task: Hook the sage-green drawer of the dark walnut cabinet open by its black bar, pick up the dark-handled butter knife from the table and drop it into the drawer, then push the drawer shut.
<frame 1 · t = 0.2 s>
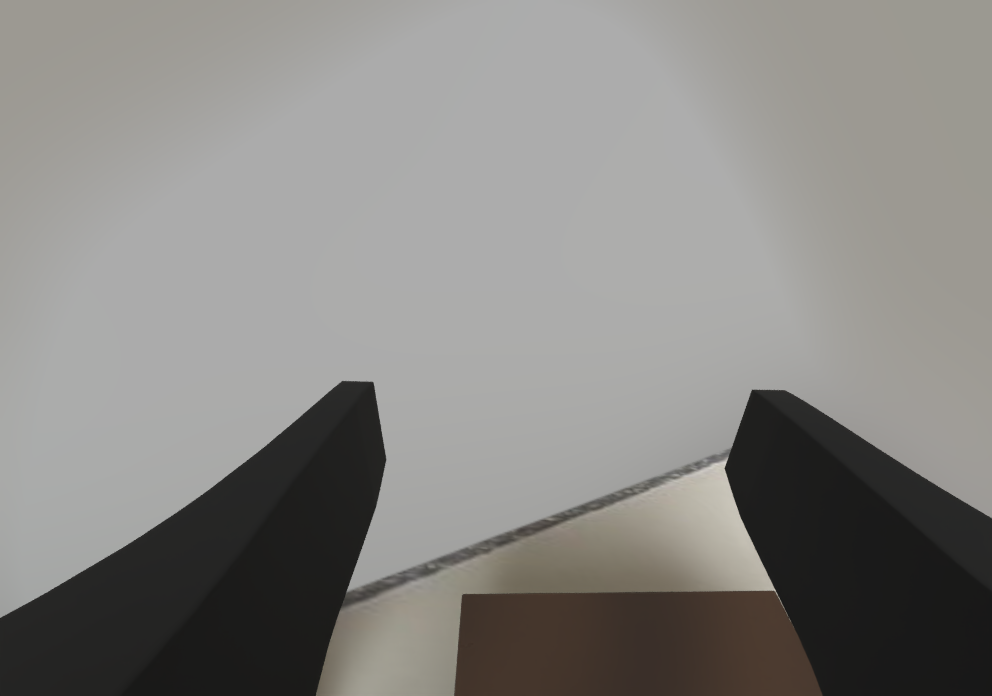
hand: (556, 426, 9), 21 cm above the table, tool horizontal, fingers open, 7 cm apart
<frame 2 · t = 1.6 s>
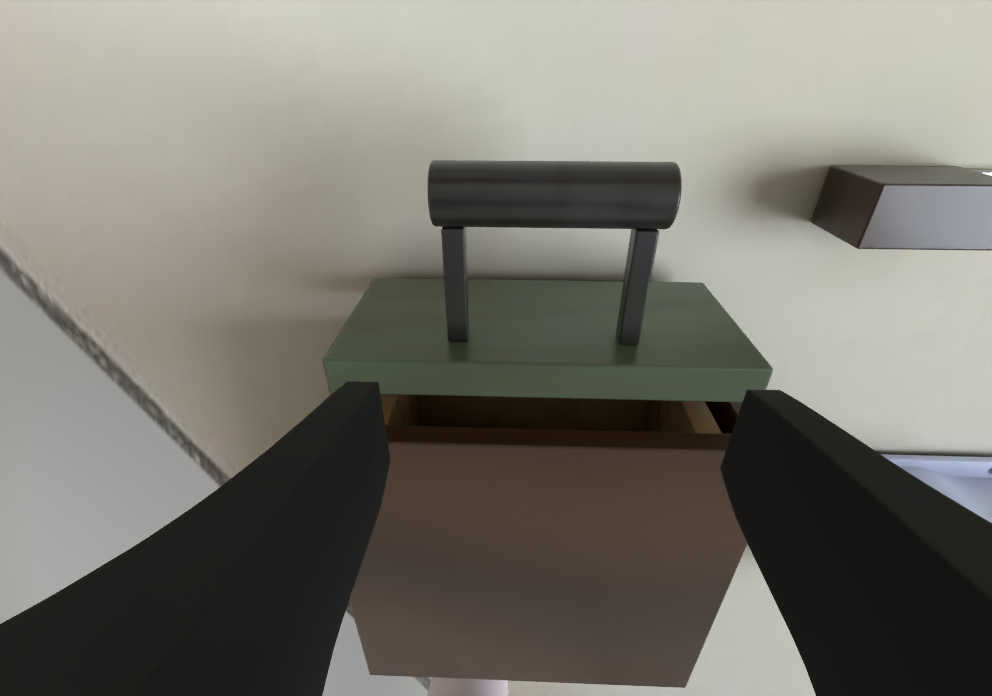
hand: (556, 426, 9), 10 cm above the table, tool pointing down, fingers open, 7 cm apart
drawer: (535, 405, 18), point 4 cm above the table, slide at 1.0 cm
knife: (880, 195, 17), on the table
cabinet: (527, 441, 24), on the table
smoothie: (474, 617, 32), on the table
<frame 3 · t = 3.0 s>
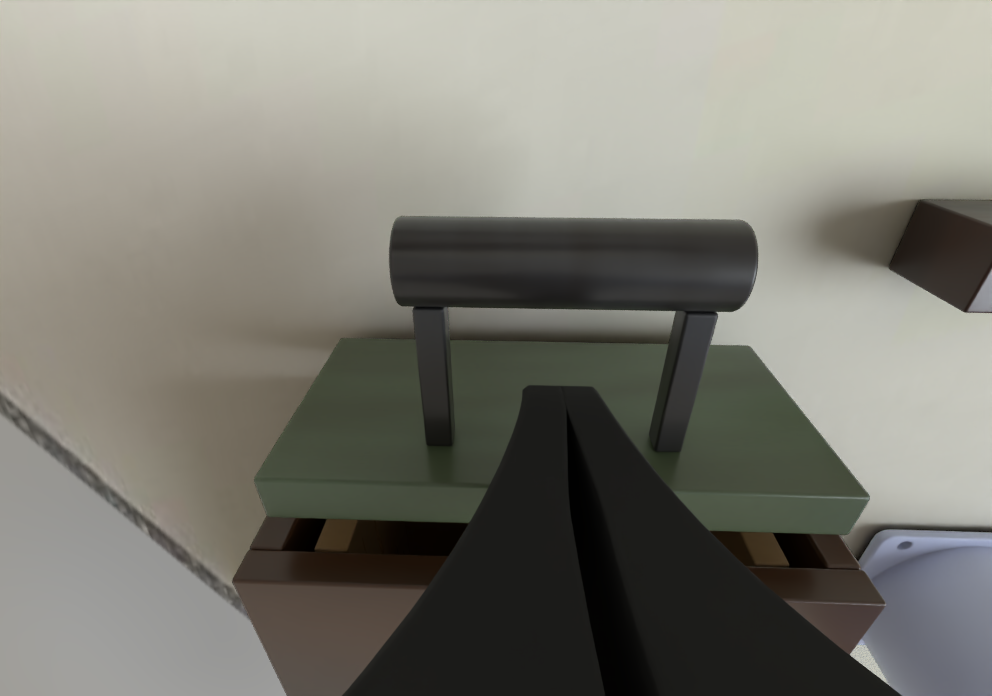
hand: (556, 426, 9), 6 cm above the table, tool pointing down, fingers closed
drawer: (540, 501, 14), point 4 cm above the table, slide at 0.9 cm, touching gripper
knife: (980, 236, 13), on the table
cabinet: (530, 513, 20), on the table
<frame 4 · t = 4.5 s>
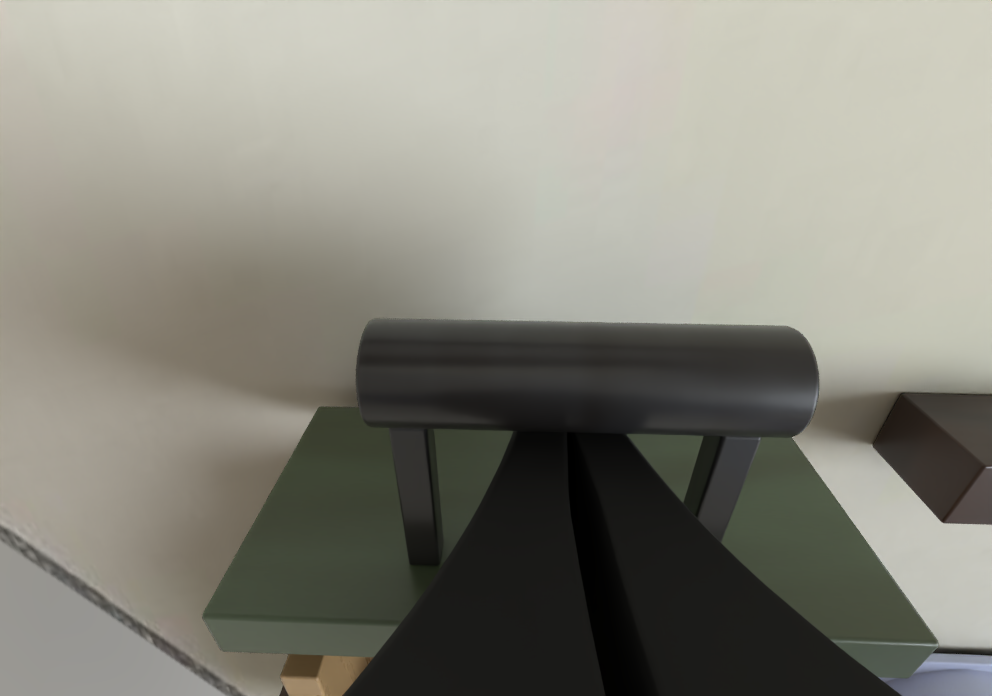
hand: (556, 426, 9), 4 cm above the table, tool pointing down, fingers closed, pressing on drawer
drawer: (542, 594, 12), point 4 cm above the table, slide at 4.8 cm, touching gripper
knife: (960, 422, 14), on the table
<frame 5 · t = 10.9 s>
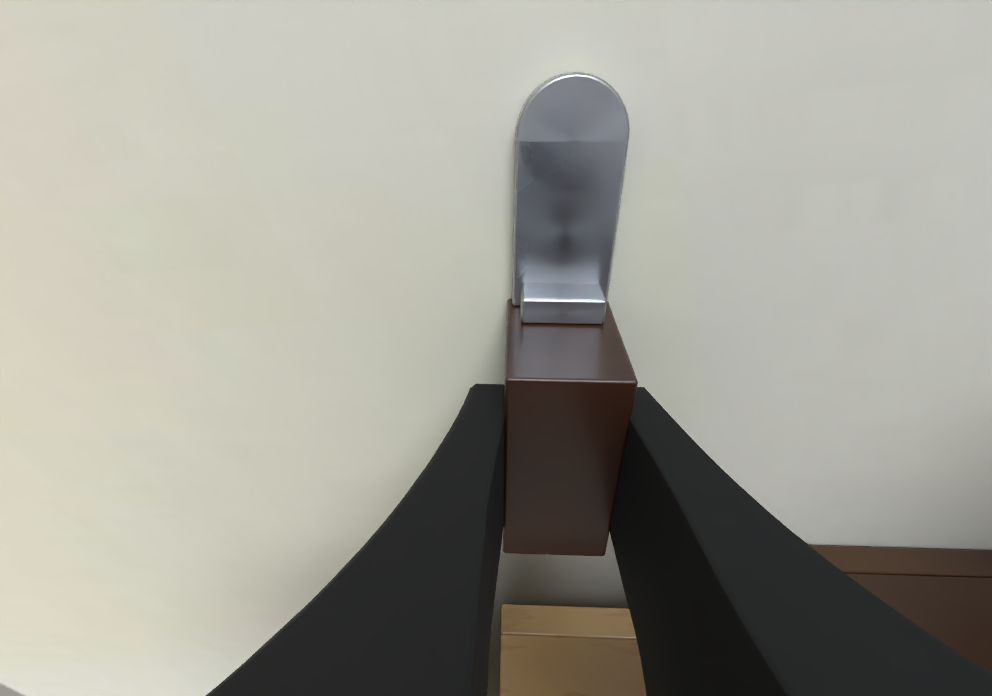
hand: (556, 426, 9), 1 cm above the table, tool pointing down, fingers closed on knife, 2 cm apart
knife: (551, 384, 11), on the table, touching gripper
cabinet: (878, 673, 17), on the table
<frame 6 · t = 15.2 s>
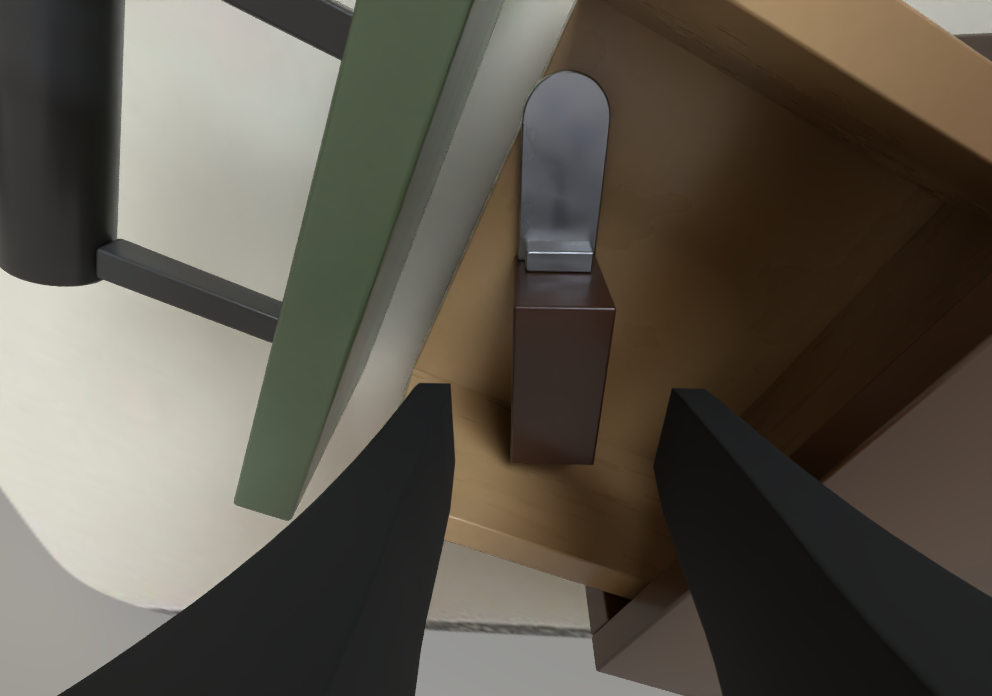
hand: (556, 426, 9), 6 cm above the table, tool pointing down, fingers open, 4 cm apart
drawer: (530, 267, 10), point 4 cm above the table, slide at 7.5 cm, touching knife
knife: (550, 330, 13), point 2 cm above the table, touching drawer
cabinet: (855, 371, 15), on the table
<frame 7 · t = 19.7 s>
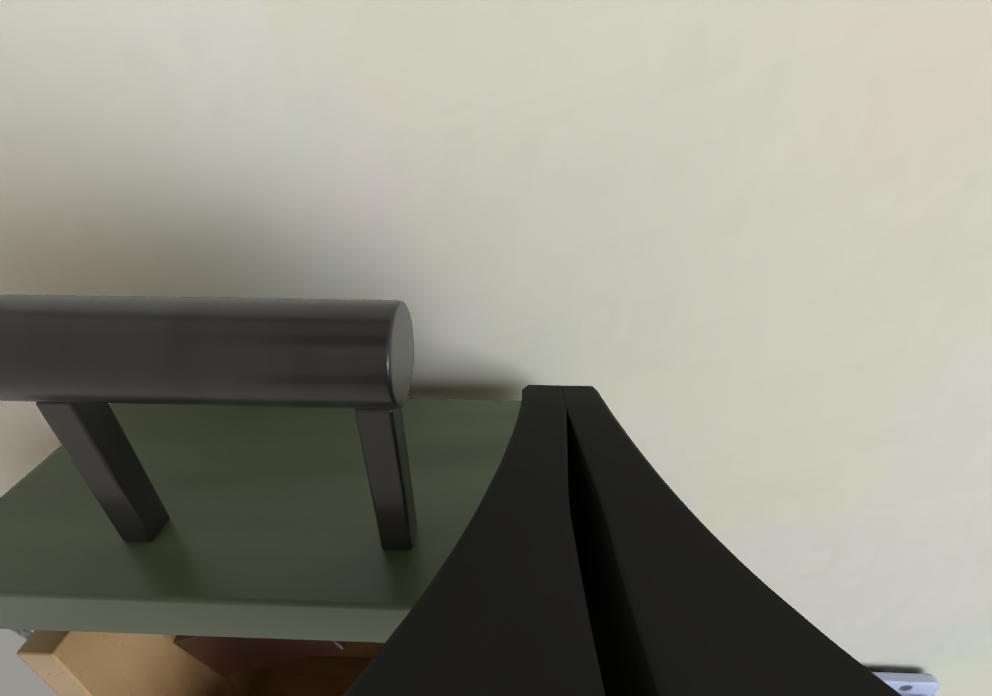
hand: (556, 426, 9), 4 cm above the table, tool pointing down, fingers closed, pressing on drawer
drawer: (332, 576, 13), point 4 cm above the table, slide at 7.1 cm, touching gripper, knife
knife: (298, 553, 15), point 2 cm above the table, touching drawer
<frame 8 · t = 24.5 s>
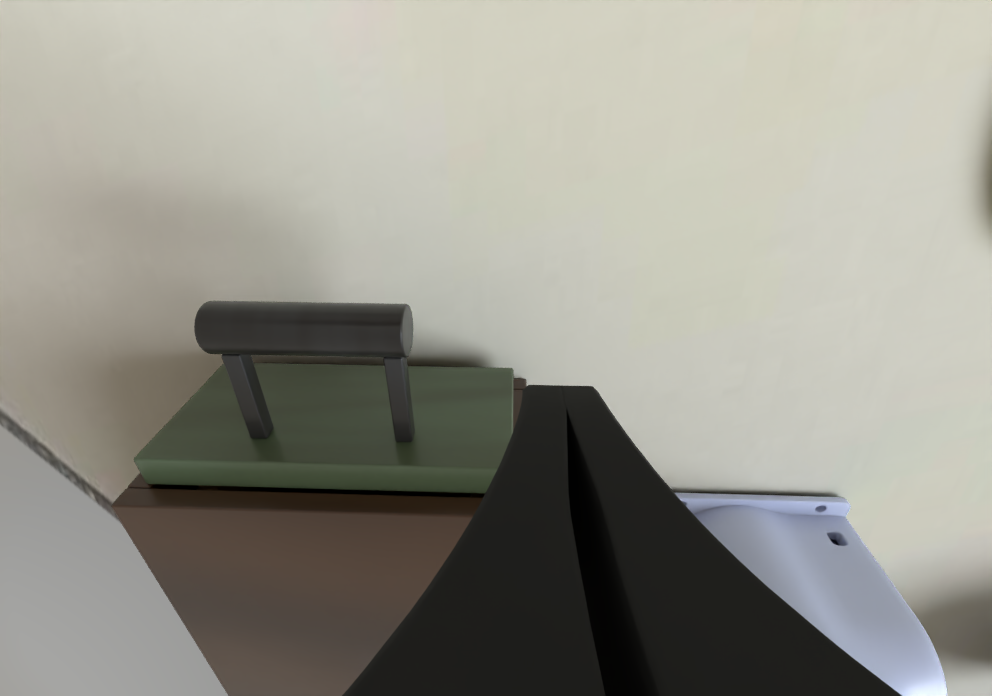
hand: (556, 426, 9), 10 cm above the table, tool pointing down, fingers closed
drawer: (361, 478, 20), point 4 cm above the table, slide at 0.0 cm, touching cabinet, knife
knife: (335, 473, 22), point 2 cm above the table, touching drawer
cabinet: (393, 481, 25), on the table
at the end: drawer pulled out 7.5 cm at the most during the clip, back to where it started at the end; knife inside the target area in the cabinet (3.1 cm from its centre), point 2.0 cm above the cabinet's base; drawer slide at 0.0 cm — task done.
